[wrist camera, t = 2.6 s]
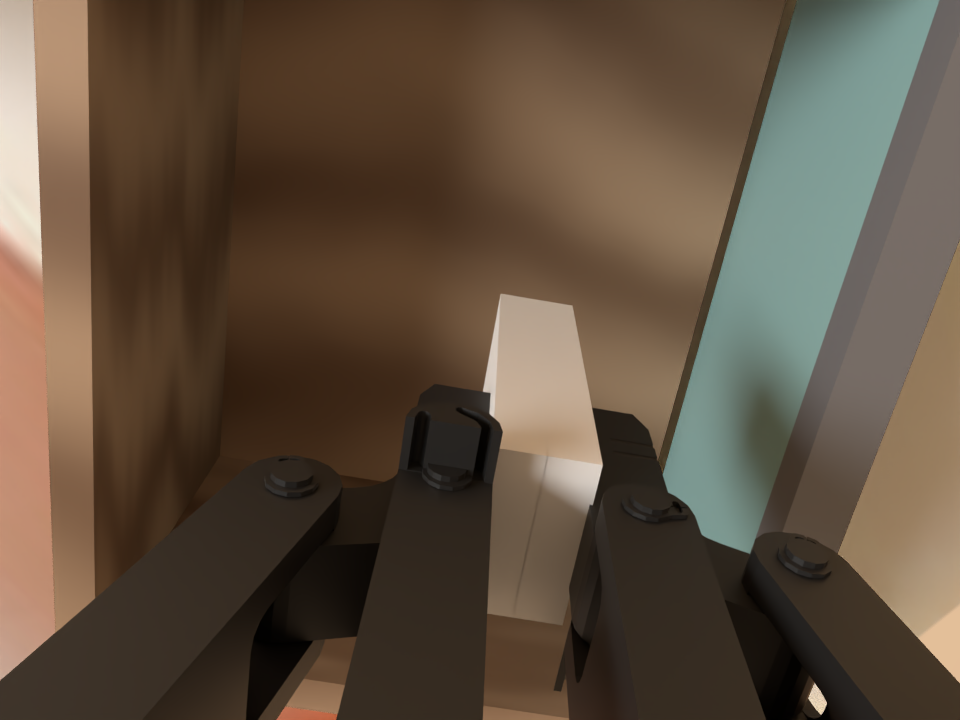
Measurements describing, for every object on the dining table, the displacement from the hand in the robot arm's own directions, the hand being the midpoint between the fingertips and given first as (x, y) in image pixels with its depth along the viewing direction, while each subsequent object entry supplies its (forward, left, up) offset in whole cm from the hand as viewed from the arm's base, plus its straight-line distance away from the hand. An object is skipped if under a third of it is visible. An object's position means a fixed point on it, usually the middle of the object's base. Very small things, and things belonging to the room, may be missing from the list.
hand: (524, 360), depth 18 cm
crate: (0, +1, -11) cm, 11 cm away
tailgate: (0, -8, -10) cm, 13 cm away
